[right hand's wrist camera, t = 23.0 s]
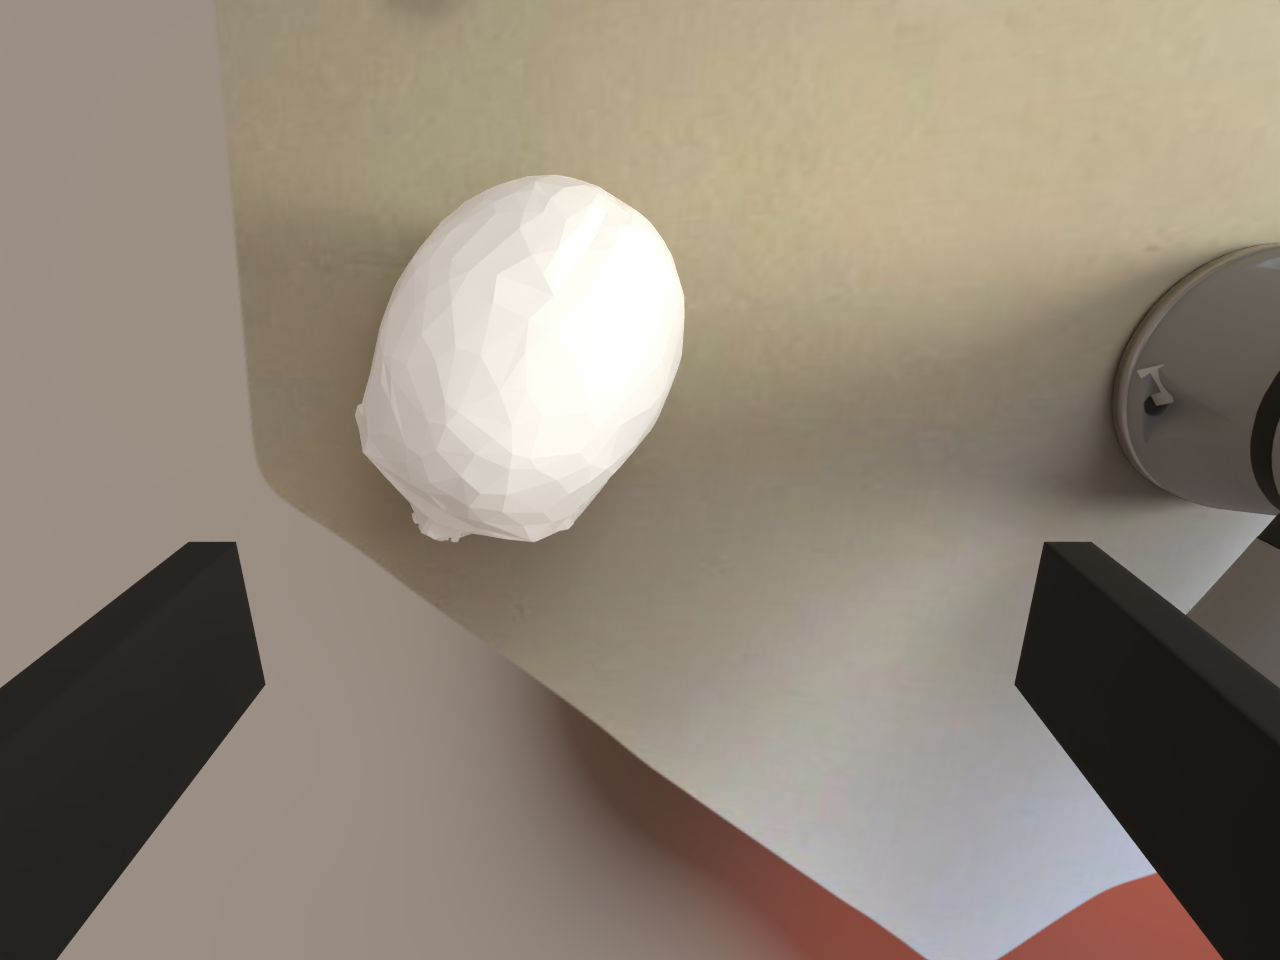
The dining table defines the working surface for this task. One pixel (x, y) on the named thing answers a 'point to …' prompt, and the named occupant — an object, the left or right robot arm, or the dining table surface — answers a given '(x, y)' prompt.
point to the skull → (522, 359)
